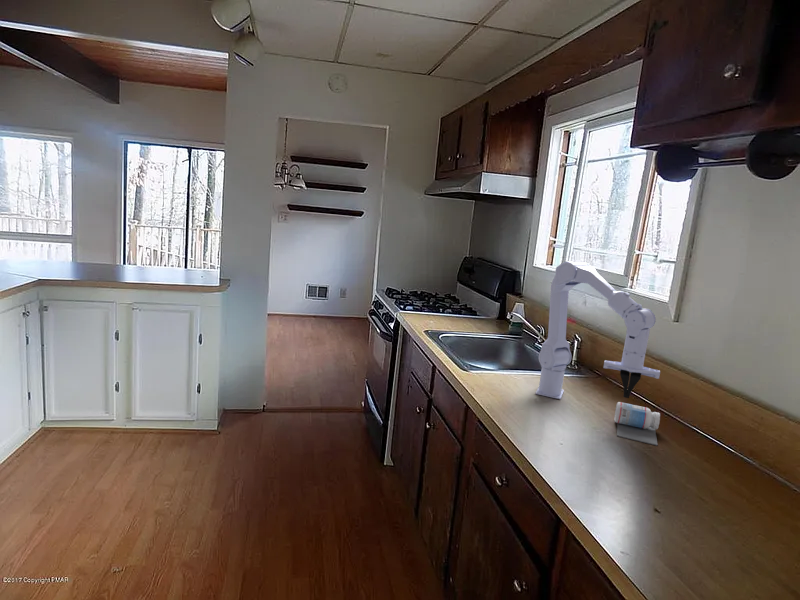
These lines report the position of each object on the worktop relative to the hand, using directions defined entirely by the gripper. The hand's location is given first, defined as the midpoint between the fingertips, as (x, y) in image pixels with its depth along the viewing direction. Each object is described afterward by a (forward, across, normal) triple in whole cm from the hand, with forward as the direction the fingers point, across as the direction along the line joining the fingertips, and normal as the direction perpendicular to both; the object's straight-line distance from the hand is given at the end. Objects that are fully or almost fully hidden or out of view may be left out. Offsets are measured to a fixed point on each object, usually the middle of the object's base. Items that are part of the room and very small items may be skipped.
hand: (626, 396), depth 147 cm
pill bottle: (+5, -2, 0) cm, 5 cm away
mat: (+8, +4, 0) cm, 9 cm away
